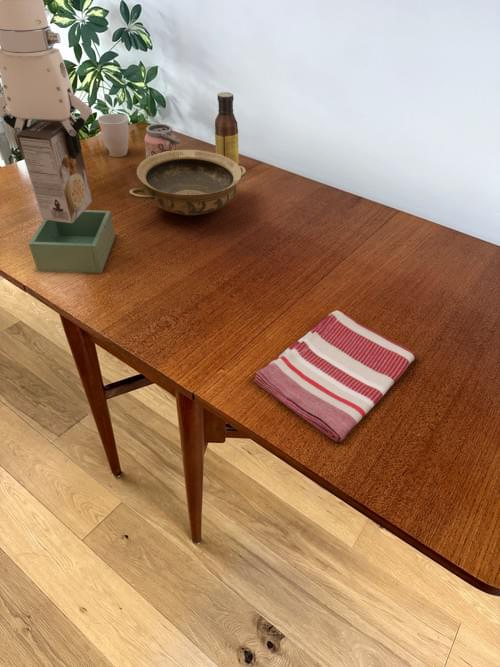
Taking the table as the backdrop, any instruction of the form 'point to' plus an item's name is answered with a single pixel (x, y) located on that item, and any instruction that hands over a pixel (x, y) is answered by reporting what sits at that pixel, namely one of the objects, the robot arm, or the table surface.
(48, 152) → the coffee box
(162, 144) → the pink jar
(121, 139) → the cup
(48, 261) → the bin
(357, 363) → the dish towel
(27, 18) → the robot arm
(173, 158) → the ceramic bowl
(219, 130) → the sauce bottle
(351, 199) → the table surface
